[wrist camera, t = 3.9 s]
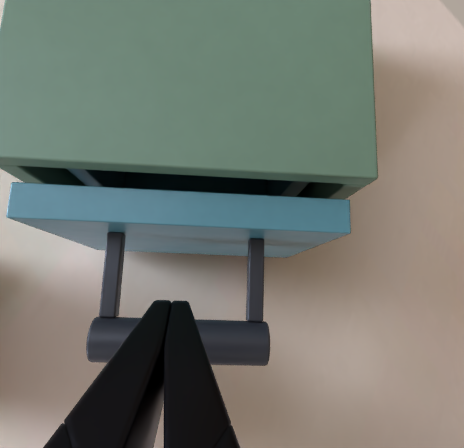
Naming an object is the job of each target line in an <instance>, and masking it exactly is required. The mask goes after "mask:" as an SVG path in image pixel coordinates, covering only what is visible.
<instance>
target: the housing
mask: <svg viewBox="0 0 464 448" xmlns="http://www.w3.org/2000/svg"><path fill="white" fill-rule="evenodd" d="M0 168H1V169H3V170H4V171H6V172H8V173H9V174H11V175H13V176H15V177H16V178H18V179H20V180H21V181H23V182H25V183H38V184H57V185H76V186H86V185H85V184H84V183H83V182H81V181H80V180H79V179H78V178H77V177H76V176H74V175H73V174H72V173H71V172H70V171H69V170H67V169H66V168H69V169H87V170H105V171H123V172H141V173H159V174H177V175H195V176H213V177H232V178H250V179H268V180H286V181H304V182H310V183H309V184H308V185H307V186H306V187H305V188H304V189H303V190H302V191H301V192H300V193H299V194H298V195H297V196H296V197H305V198H324V199H343V200H344V199H346V198H348V197H349V196H351V195H352V194H354V193H355V192H357V191H358V190H360V189H362V188H363V187H365V186H366V185H368V184H370V183H371V182H373V181H374V180H376V179H377V178H378V169H377V145H376V121H375V97H374V73H373V49H372V25H371V1H370V0H5V4H4V10H3V15H2V21H1V27H0Z"/></svg>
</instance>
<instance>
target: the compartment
mask: <svg viewBox="0 0 464 448" xmlns="http://www.w3.org/2000/svg"><path fill="white" fill-rule="evenodd" d="M66 169H67V170H69V171H70V172H71V173H72V174H73V175H74V176H76V177H77V178H78V179H79V180H80V181H81V182H83V183H84V184H85V185H86V186H76V185H57V184H38V183H19V182H12V183H11V189H10V196H9V202H8V209H7V215H6V217H7V218H10V219H12V220H15V221H18V222H21V223H24V224H26V225H29V226H32V227H35V228H38V229H41V230H43V231H46V232H49V233H52V234H55V235H57V236H60V237H63V238H66V239H69V240H71V241H74V242H77V243H80V244H83V245H86V246H88V247H91V248H94V249H97V250H106V252H105V262H104V272H103V282H102V292H101V302H100V312H99V316H100V317H96V318H94V320H93V321H92V323H91V326H90V328H89V332H88V337H87V346H86V350H87V357H88V360H89V361H91V362H109V360H110V359H111V358H112V356H113V355H114V354H115V352H116V351H117V350H118V348H119V347H120V346H121V344H122V343H123V342H124V340H125V339H126V338H127V336H128V335H129V334H130V333H131V331H132V330H133V329H134V327H135V326H136V325H137V323H138V322H139V321H140V319H141V318H125V317H117V316H118V315H119V306H120V295H121V283H122V272H123V261H124V251H137V252H161V253H185V254H210V255H234V256H248V263H247V301H246V320H247V321H227V320H195V322H196V324H197V327H198V330H199V333H200V336H201V339H202V342H203V344H204V347H205V350H206V353H207V356H208V359H209V361H210V364H211V365H251V366H265V365H267V364H268V361H269V356H270V333H269V327H268V324H267V323H266V322H262V321H263V295H264V257H282V258H287V257H290V256H292V255H295V254H297V253H300V252H303V251H305V250H308V249H310V248H313V247H316V246H318V245H321V244H324V243H326V242H329V241H331V240H334V239H337V238H339V237H342V236H345V235H347V234H350V233H351V225H350V200H343V199H324V198H305V197H296V196H297V195H298V194H299V193H300V192H301V191H302V190H303V189H304V188H305V187H306V186H307V185H308V184H309V183H310V182H304V181H286V180H268V179H250V178H232V177H213V176H195V175H177V174H159V173H141V172H123V171H105V170H87V169H69V168H66Z"/></svg>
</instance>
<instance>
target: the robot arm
mask: <svg viewBox="0 0 464 448" xmlns="http://www.w3.org/2000/svg"><path fill="white" fill-rule="evenodd" d="M163 401H164V448H240V446H239V443H238V441H237V438H236V435H235V432H234V429H233V426H231V421H230V418H229V416H228V413H227V410H226V407H225V404H224V401H223V398H222V396H221V393H220V390H219V387H218V384H217V381H216V379H215V376H214V373H213V370H212V367H211V364H210V361H209V359H208V356H207V353H206V350H205V347H204V344H203V342H202V339H201V336H200V333H199V330H198V327H197V324H196V322H195V319H194V316H193V313H192V310H191V307H190V305H189V303H188V302H187V301H173V302H172V303H171V301H169V300H156V301H154V302H153V303H152V305H151V306H150V307H149V309H148V310H147V311H146V313H145V314H144V315H143V317H142V318H141V319H140V321H139V322H138V323H137V325H136V326H135V327H134V329H133V330H132V331H131V333H130V334H129V335H128V336H127V338H126V339H125V340H124V342H123V343H122V344H121V346H120V347H119V348H118V350H117V351H116V352H115V354H114V355H113V356H112V358H111V359H110V360H109V362H108V363H107V364H106V366H105V367H104V368H103V370H102V371H101V372H100V374H99V375H98V376H97V378H96V379H95V380H94V381H93V383H92V384H91V385H90V387H89V388H88V389H87V391H86V392H85V393H84V395H83V396H82V397H81V399H80V400H79V401H78V403H77V404H76V405H75V407H74V408H73V409H72V411H71V412H70V413H69V415H68V416H67V417H66V419H65V420H64V423H65V424H64V423H62V424H61V425H60V426H59V428H58V429H57V430H56V432H55V433H54V434H53V436H52V437H51V438H50V440H49V441H48V442H47V443H46V445H45V446H44V447H43V448H153V447H154V442H155V438H156V433H157V429H158V424H159V419H160V415H161V410H162V406H163Z"/></svg>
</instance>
